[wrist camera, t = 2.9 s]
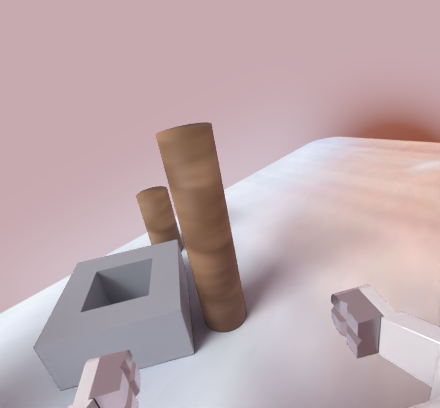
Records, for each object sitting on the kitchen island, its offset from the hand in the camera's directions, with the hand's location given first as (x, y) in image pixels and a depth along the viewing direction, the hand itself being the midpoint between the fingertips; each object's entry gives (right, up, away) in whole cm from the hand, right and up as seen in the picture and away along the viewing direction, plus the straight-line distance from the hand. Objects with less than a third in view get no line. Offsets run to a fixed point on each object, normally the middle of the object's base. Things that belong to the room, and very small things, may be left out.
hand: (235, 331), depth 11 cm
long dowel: (0, -5, +13) cm, 14 cm away
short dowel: (-7, -1, +25) cm, 26 cm away
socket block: (-8, -6, +14) cm, 18 cm away
